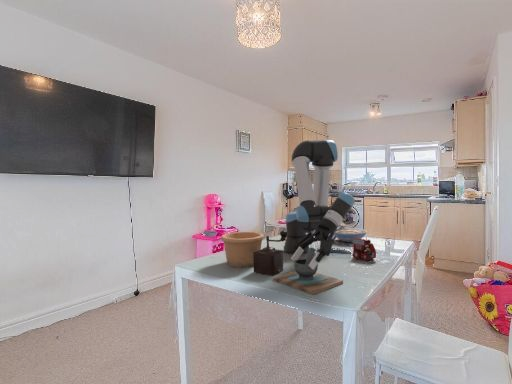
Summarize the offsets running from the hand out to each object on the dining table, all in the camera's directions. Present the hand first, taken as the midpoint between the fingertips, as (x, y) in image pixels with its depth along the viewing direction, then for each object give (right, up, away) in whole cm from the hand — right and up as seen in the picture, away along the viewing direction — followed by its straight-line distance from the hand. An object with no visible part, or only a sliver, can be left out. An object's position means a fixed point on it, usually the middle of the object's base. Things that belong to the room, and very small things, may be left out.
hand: (301, 264), depth 122 cm
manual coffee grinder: (-11, -8, +19) cm, 23 cm away
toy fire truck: (+38, -6, +34) cm, 52 cm away
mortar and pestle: (+3, -6, +2) cm, 7 cm away
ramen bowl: (+44, -4, +78) cm, 90 cm away
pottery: (-25, -7, +32) cm, 41 cm away
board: (+3, -8, +2) cm, 8 cm away
